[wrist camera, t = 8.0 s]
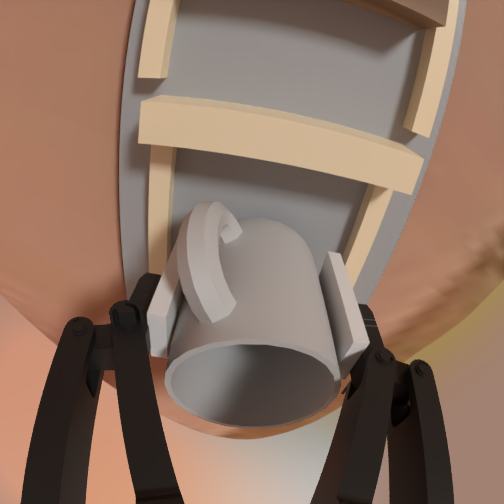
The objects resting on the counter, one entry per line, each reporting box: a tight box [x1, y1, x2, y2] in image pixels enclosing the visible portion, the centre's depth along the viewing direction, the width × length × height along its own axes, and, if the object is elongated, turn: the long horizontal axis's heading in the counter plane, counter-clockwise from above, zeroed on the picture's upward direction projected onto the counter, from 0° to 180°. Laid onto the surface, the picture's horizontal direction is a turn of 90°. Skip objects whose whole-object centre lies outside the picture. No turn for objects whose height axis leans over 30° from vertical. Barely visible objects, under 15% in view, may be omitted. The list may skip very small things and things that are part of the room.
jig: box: [119, 0, 466, 347], centre depth 15 cm, size 30×18×4 cm, turn 170°
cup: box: [164, 201, 341, 428], centre depth 15 cm, size 7×10×9 cm
